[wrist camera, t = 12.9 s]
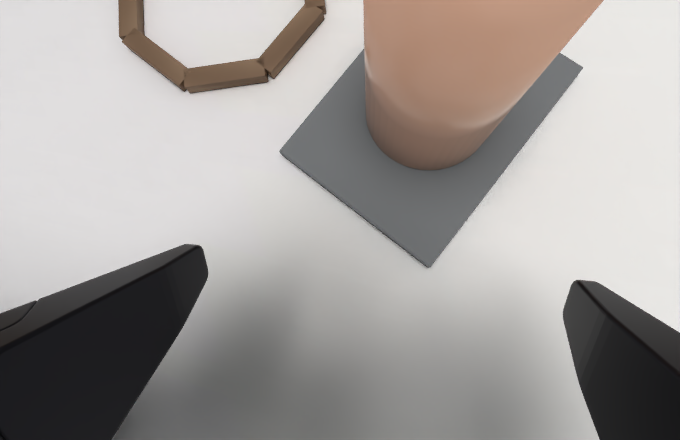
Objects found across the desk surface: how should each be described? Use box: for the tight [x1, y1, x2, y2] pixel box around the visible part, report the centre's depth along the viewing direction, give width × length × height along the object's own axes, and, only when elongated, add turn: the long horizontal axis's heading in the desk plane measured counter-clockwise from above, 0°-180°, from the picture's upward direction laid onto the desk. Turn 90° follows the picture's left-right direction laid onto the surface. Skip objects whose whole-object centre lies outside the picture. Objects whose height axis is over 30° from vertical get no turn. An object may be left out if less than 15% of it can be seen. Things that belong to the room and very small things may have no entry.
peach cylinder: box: [363, 0, 603, 170], centre depth 13 cm, size 6×6×10 cm
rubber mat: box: [280, 49, 583, 267], centre depth 18 cm, size 12×9×1 cm
